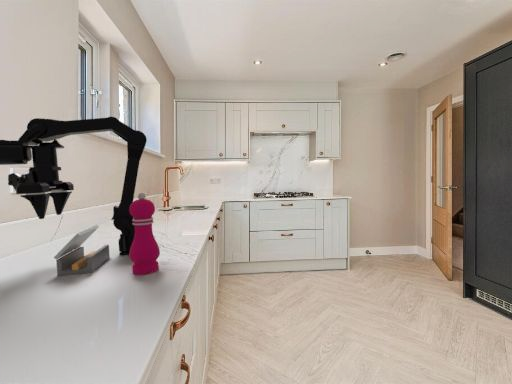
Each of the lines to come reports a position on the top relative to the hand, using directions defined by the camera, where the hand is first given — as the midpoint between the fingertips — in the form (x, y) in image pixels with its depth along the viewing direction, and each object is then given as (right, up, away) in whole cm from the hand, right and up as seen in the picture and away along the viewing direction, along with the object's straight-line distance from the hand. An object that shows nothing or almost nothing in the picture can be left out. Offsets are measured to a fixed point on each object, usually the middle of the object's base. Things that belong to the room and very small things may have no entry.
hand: (50, 216), depth 81 cm
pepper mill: (+32, -13, -11) cm, 36 cm away
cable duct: (+13, -13, -4) cm, 19 cm away
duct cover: (+12, -6, -5) cm, 14 cm away
